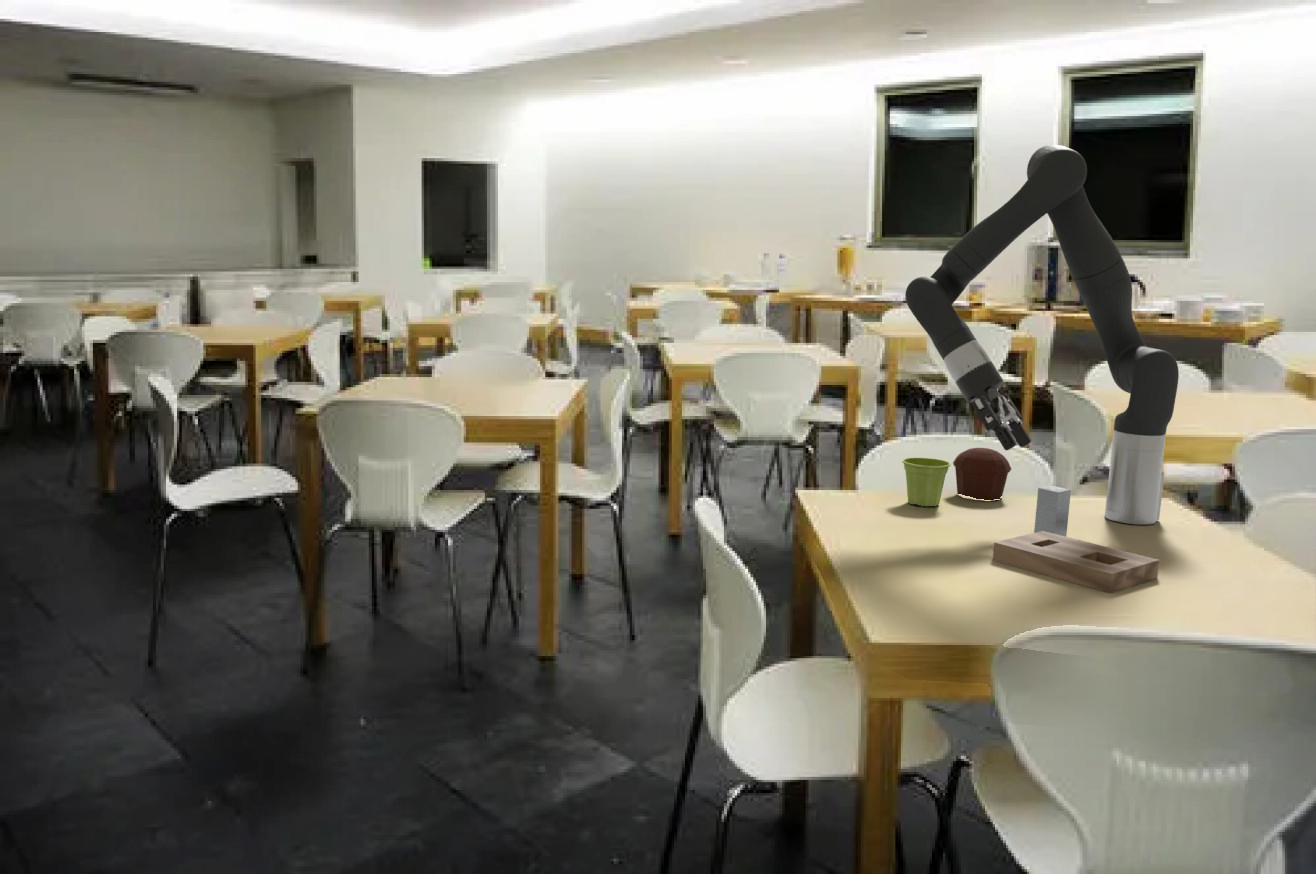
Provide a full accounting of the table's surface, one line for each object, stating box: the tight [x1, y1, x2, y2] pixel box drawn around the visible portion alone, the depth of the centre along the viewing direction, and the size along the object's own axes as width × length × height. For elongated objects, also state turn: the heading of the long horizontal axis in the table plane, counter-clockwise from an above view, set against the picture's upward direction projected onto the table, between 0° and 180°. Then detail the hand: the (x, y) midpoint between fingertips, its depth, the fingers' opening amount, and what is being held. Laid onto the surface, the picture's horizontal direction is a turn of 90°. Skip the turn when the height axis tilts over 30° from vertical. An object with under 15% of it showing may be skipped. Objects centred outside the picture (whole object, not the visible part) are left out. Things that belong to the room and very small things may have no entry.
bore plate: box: [992, 531, 1160, 594], centre depth 186 cm, size 14×21×3 cm, turn 39°
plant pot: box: [901, 457, 952, 507], centre depth 228 cm, size 9×9×9 cm
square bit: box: [1033, 485, 1072, 537], centre depth 205 cm, size 4×4×9 cm
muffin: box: [952, 447, 1012, 500], centre depth 236 cm, size 12×11×10 cm
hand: (1019, 446), depth 207 cm, fingers open, 8 cm apart
